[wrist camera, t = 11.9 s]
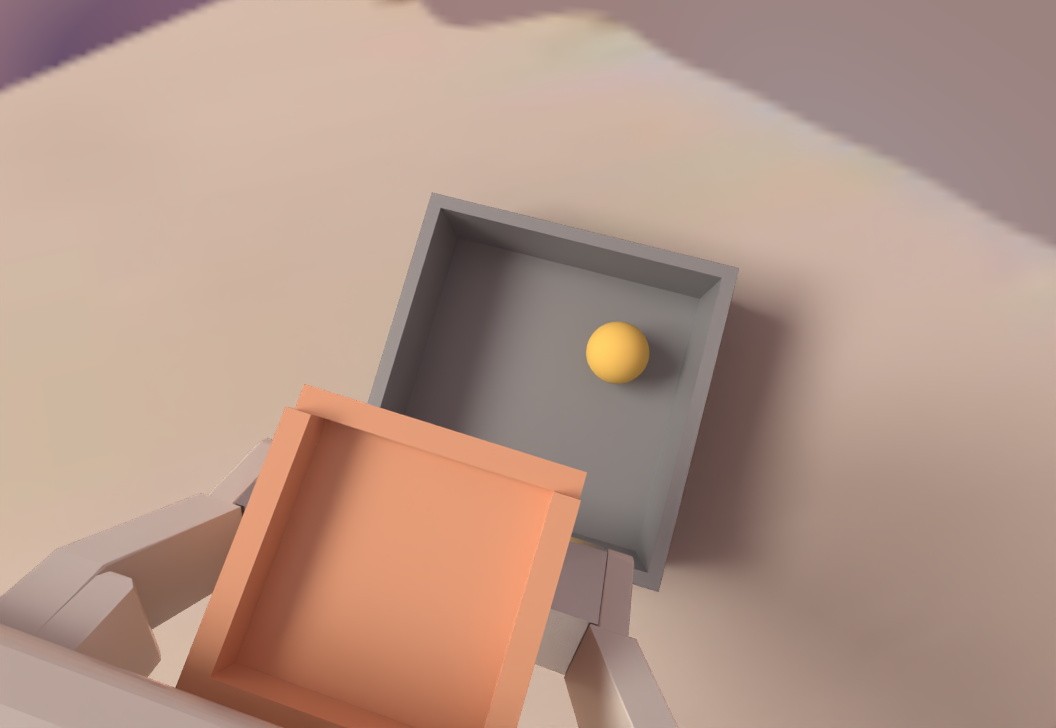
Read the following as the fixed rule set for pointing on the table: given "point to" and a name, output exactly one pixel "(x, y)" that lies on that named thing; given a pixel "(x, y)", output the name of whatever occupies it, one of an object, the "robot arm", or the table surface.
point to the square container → (385, 575)
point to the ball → (617, 352)
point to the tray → (561, 359)
